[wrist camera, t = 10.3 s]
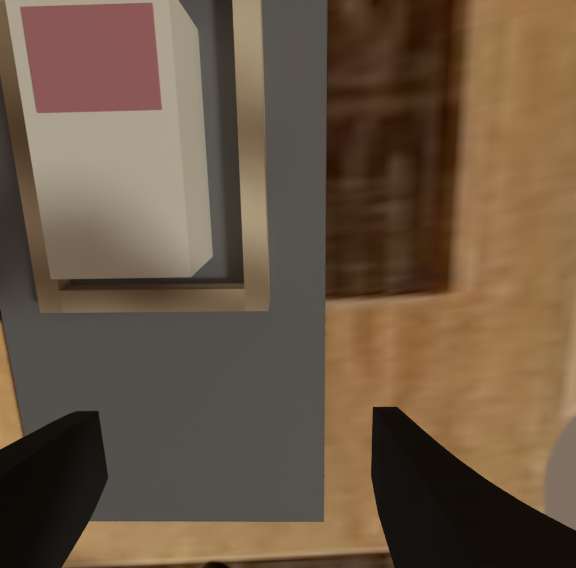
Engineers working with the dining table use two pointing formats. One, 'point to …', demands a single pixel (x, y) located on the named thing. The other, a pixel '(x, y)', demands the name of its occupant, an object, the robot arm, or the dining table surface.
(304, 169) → the mat
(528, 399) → the dining table surface
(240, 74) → the frame
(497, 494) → the robot arm
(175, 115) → the card box
